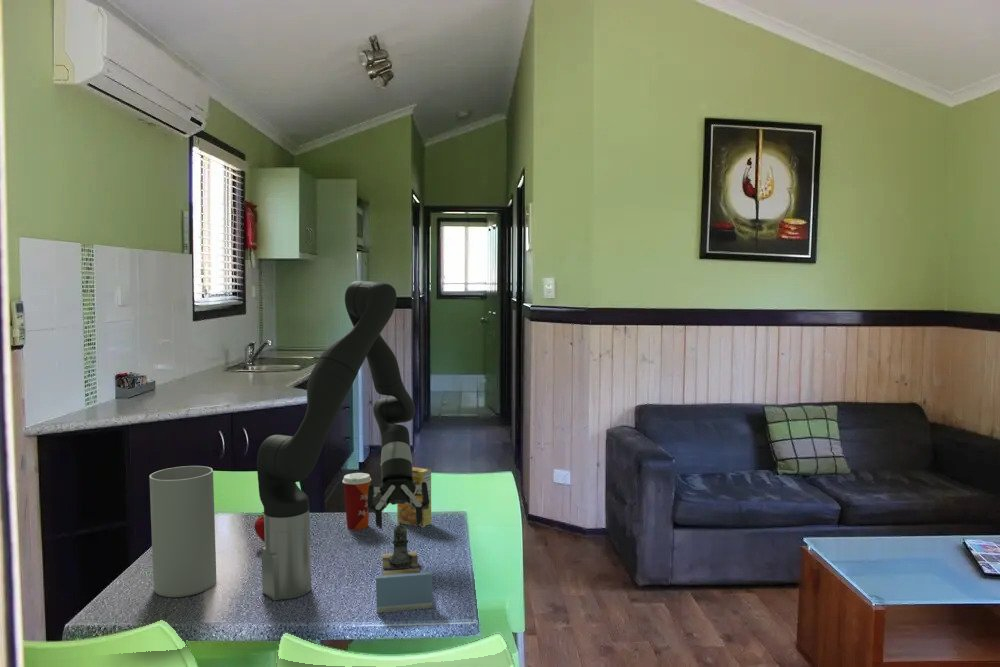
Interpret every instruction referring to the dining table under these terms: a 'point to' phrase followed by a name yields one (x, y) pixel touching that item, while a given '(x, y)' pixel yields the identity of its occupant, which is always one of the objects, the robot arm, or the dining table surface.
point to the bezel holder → (404, 592)
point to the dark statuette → (400, 550)
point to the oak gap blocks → (396, 572)
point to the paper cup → (356, 500)
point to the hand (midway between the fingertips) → (399, 526)
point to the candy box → (407, 512)
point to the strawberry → (260, 527)
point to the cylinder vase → (183, 530)
